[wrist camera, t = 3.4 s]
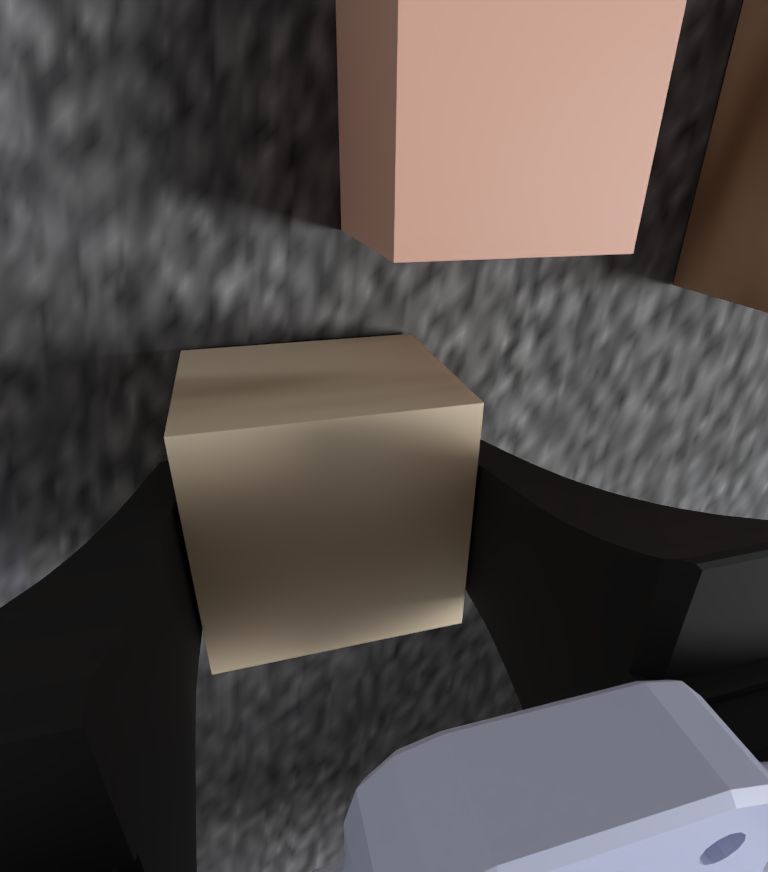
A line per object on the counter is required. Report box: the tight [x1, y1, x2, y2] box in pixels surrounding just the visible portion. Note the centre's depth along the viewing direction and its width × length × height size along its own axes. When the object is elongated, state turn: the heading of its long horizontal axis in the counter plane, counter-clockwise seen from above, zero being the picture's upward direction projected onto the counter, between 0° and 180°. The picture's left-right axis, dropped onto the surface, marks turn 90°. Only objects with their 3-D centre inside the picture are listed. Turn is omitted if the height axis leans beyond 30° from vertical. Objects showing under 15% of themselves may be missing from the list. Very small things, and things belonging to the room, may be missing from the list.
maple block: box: [164, 334, 484, 675], centre depth 11 cm, size 5×5×4 cm
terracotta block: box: [336, 0, 687, 263], centre depth 9 cm, size 4×4×4 cm
